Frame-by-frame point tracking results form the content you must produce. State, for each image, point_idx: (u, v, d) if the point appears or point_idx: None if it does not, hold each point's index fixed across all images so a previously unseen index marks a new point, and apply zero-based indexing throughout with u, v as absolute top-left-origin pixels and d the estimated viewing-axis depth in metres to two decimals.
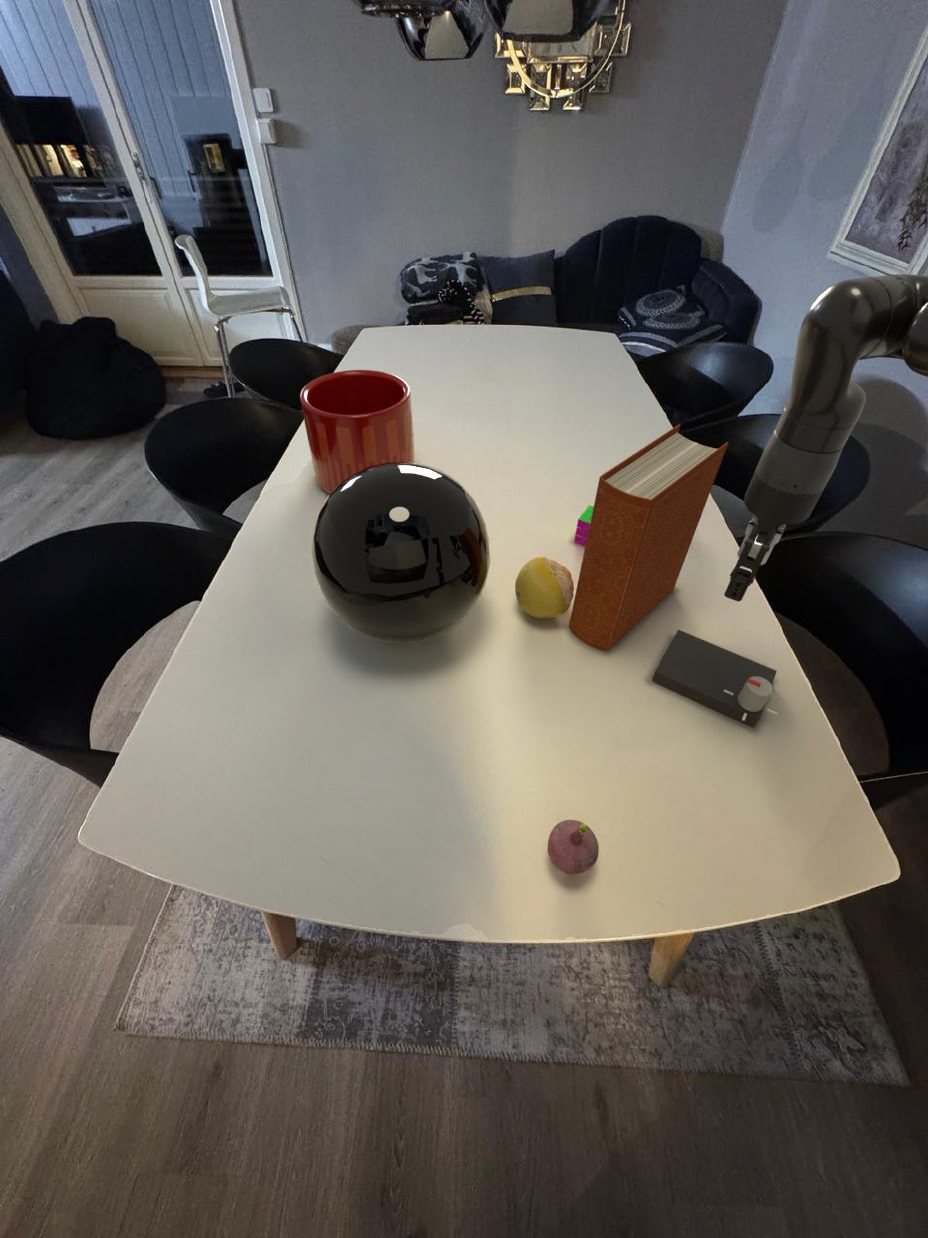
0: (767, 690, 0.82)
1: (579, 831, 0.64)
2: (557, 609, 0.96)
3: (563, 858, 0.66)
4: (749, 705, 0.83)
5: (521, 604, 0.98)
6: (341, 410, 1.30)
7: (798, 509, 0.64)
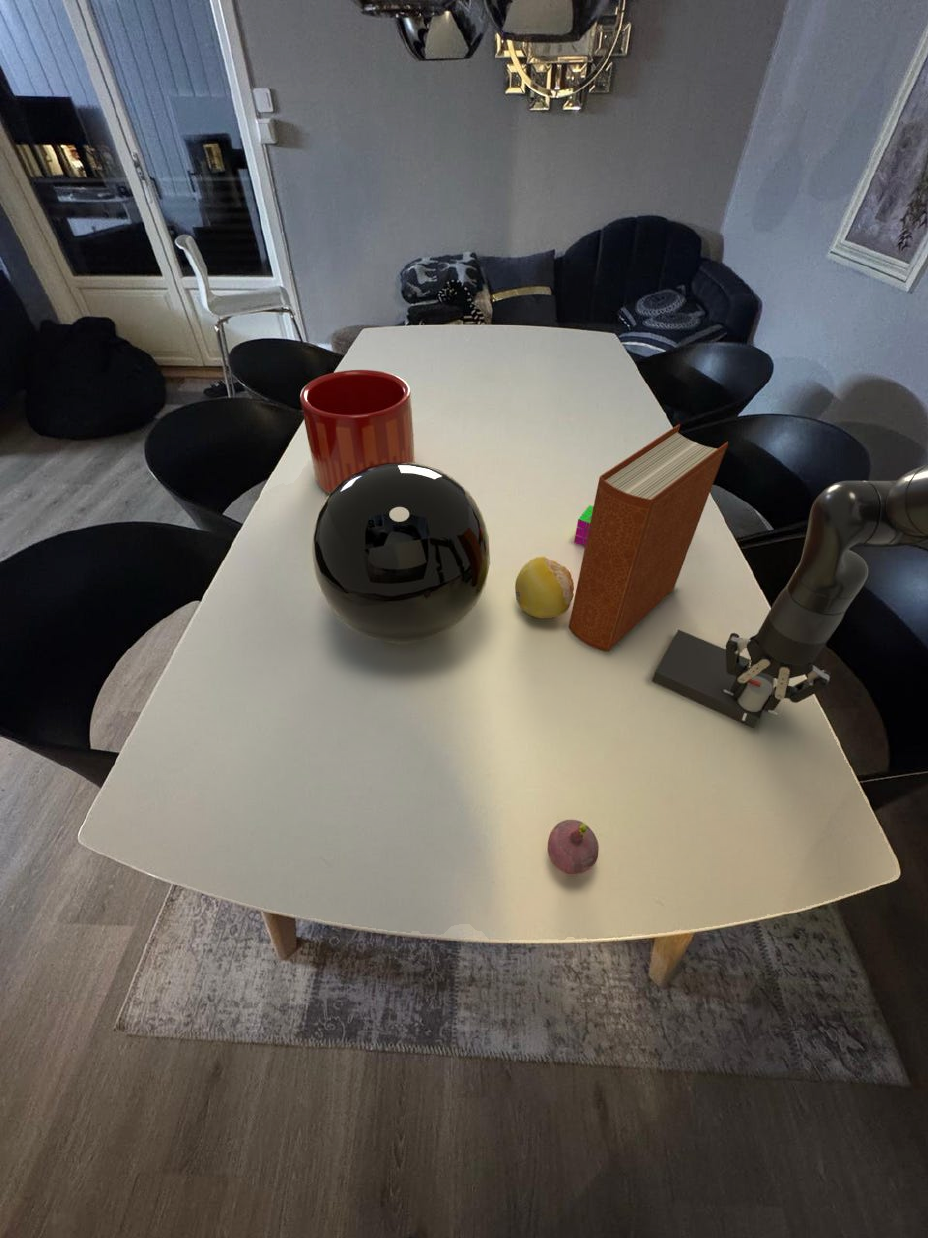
0: (767, 690, 0.82)
1: (579, 831, 0.64)
2: (557, 609, 0.96)
3: (563, 858, 0.66)
4: (749, 705, 0.83)
5: (521, 604, 0.98)
6: (341, 410, 1.30)
7: (765, 634, 0.74)
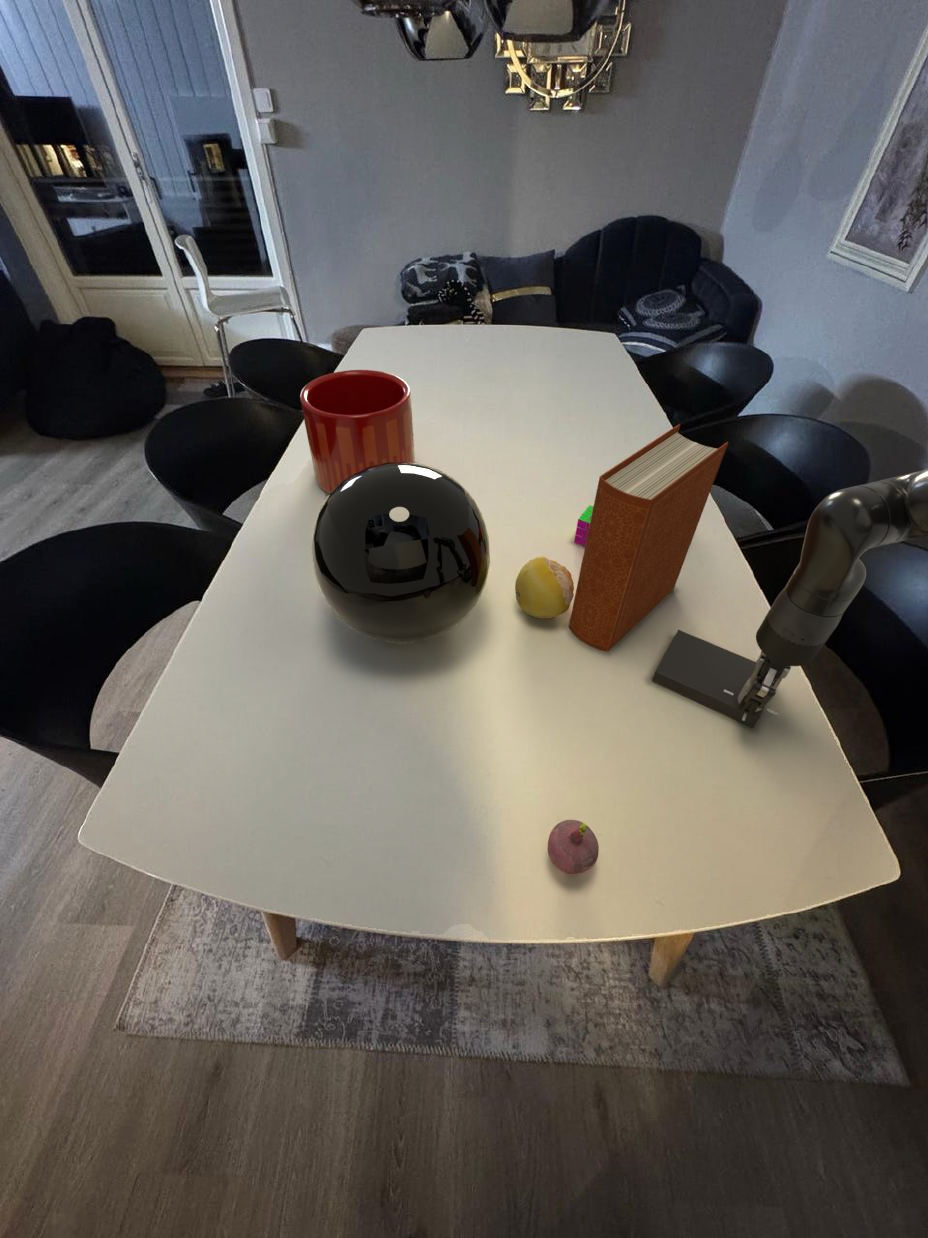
0: None
1: (579, 831, 0.64)
2: (557, 609, 0.96)
3: (563, 858, 0.66)
4: None
5: (521, 604, 0.98)
6: (341, 410, 1.30)
7: (805, 656, 0.72)
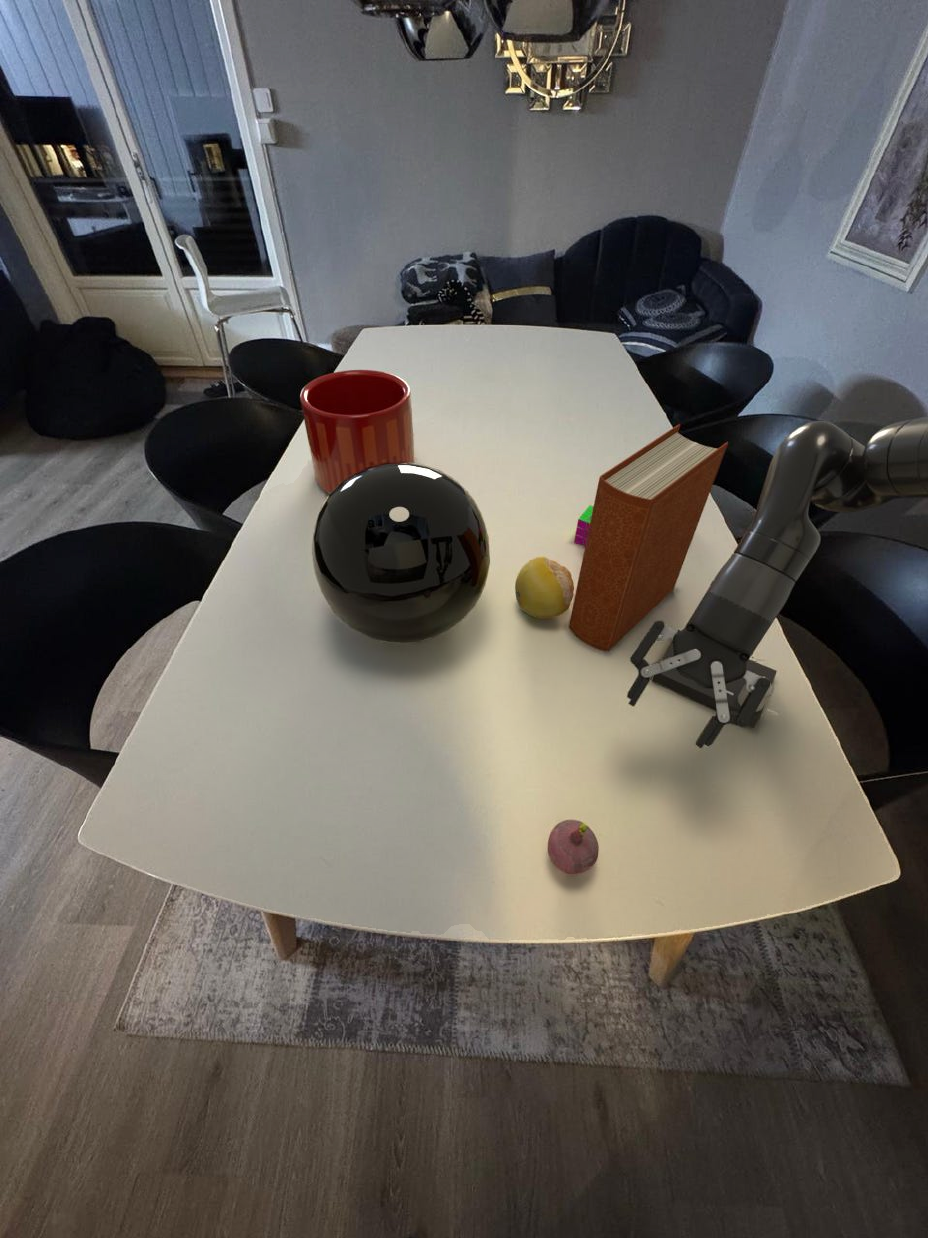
0: None
1: (579, 831, 0.64)
2: (557, 609, 0.96)
3: (563, 858, 0.66)
4: None
5: (521, 604, 0.98)
6: (341, 410, 1.30)
7: (704, 609, 0.62)
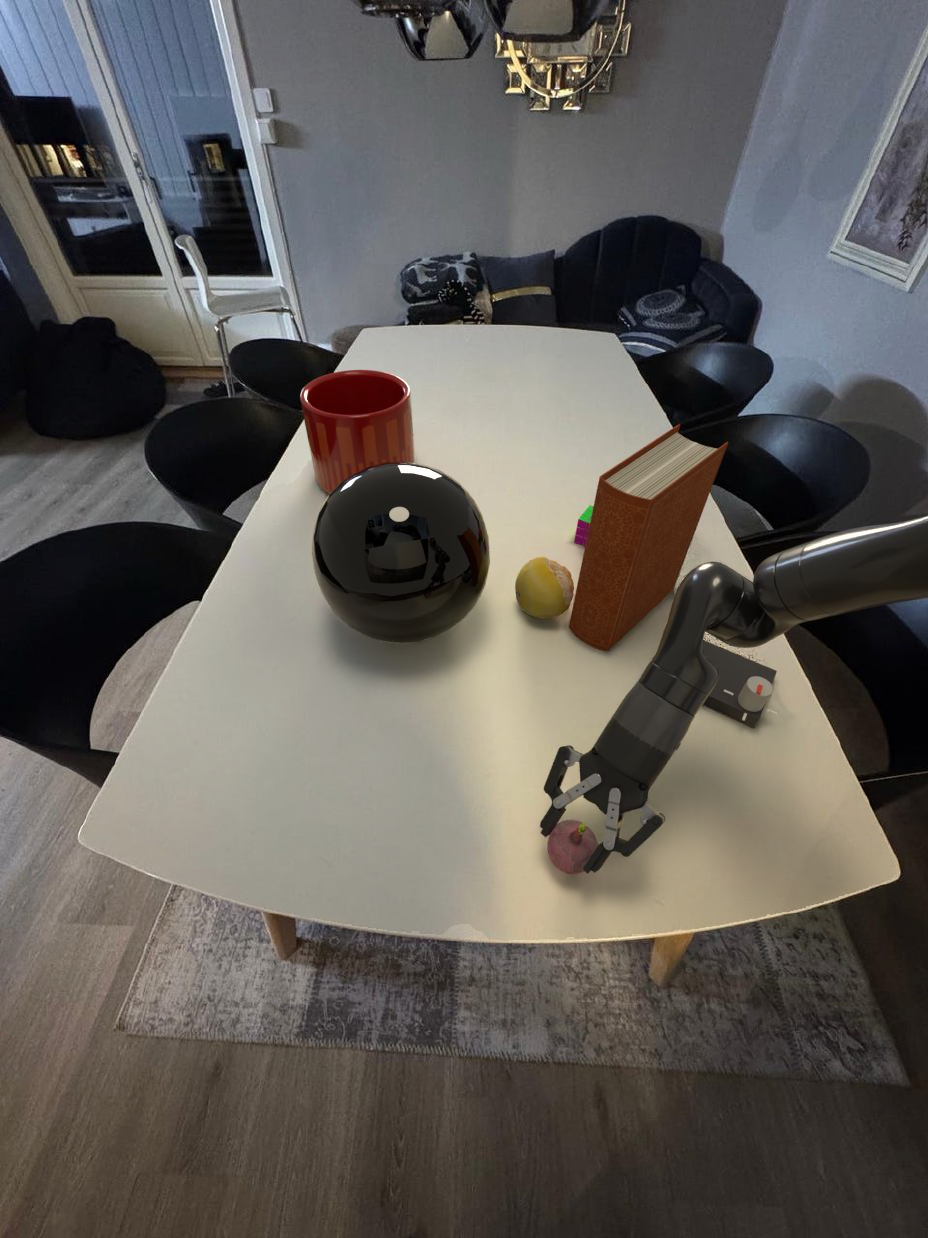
0: (763, 681, 0.83)
1: (578, 831, 0.64)
2: (557, 609, 0.96)
3: (562, 858, 0.66)
4: None
5: (521, 604, 0.98)
6: (341, 410, 1.30)
7: (605, 734, 0.63)
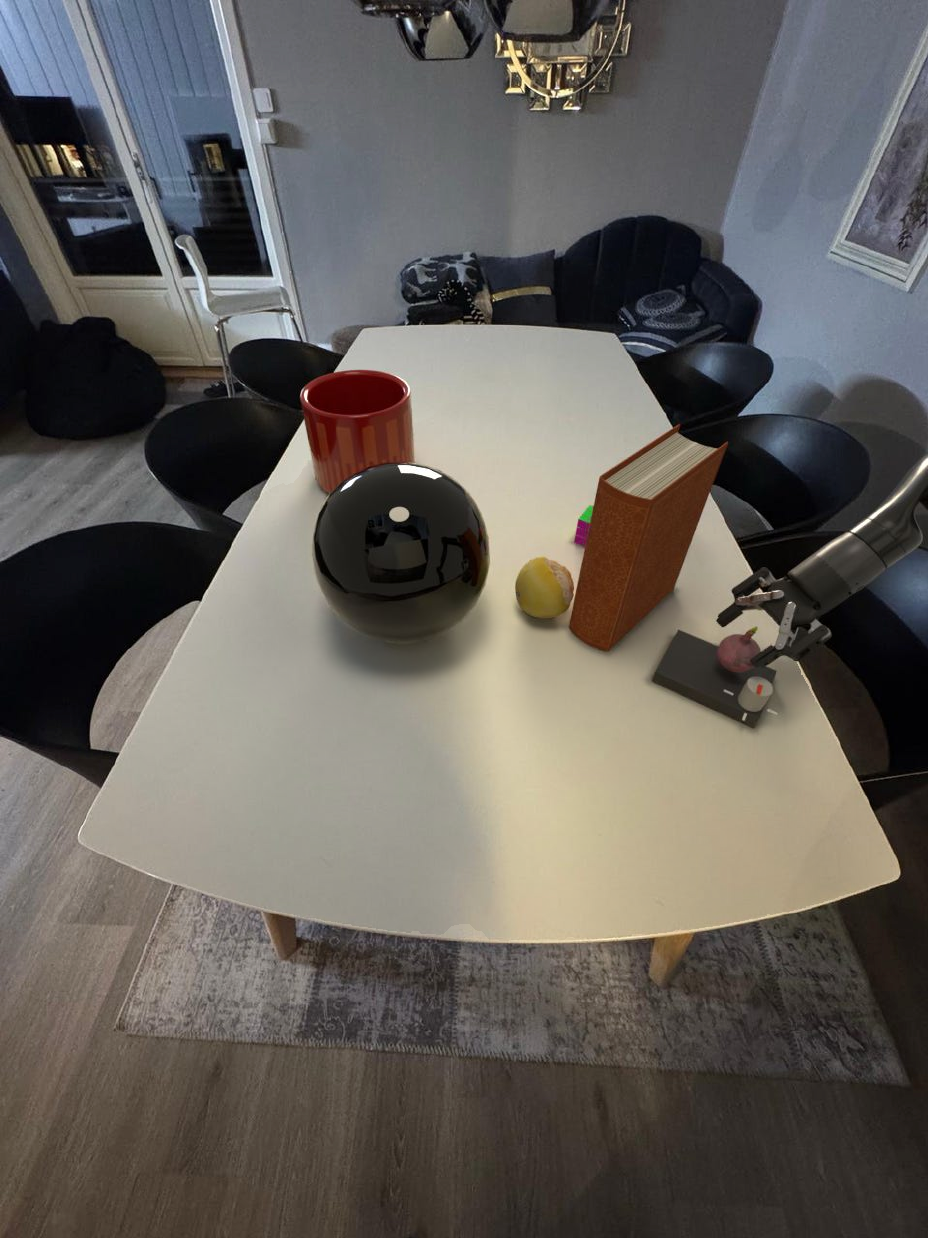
0: (763, 681, 0.83)
1: (750, 630, 0.83)
2: (557, 609, 0.96)
3: (728, 650, 0.85)
4: None
5: (521, 604, 0.98)
6: (341, 410, 1.30)
7: (800, 563, 0.81)
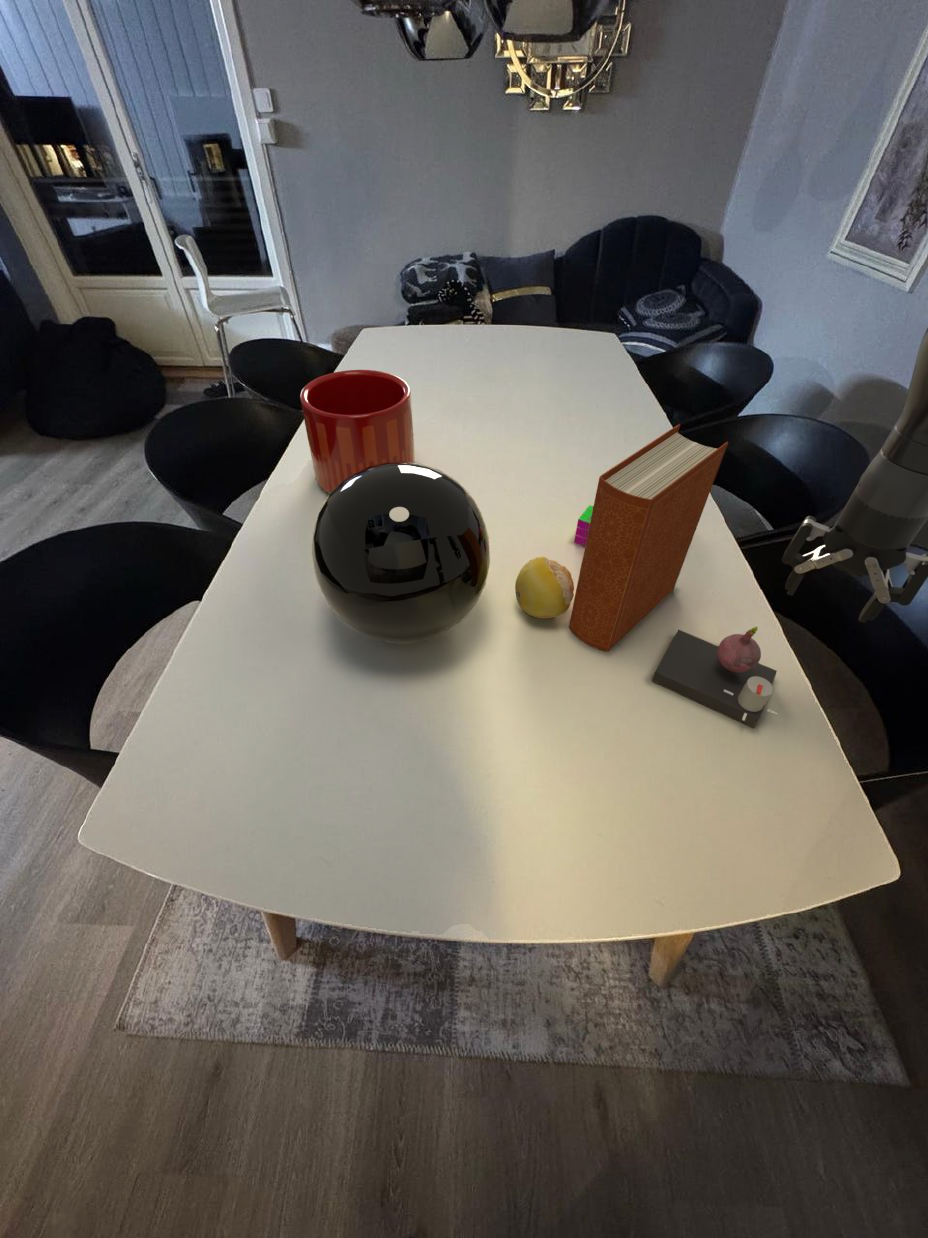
0: (763, 681, 0.83)
1: (750, 630, 0.83)
2: (557, 609, 0.96)
3: (728, 650, 0.85)
4: None
5: (521, 604, 0.98)
6: (341, 410, 1.30)
7: (851, 515, 0.63)
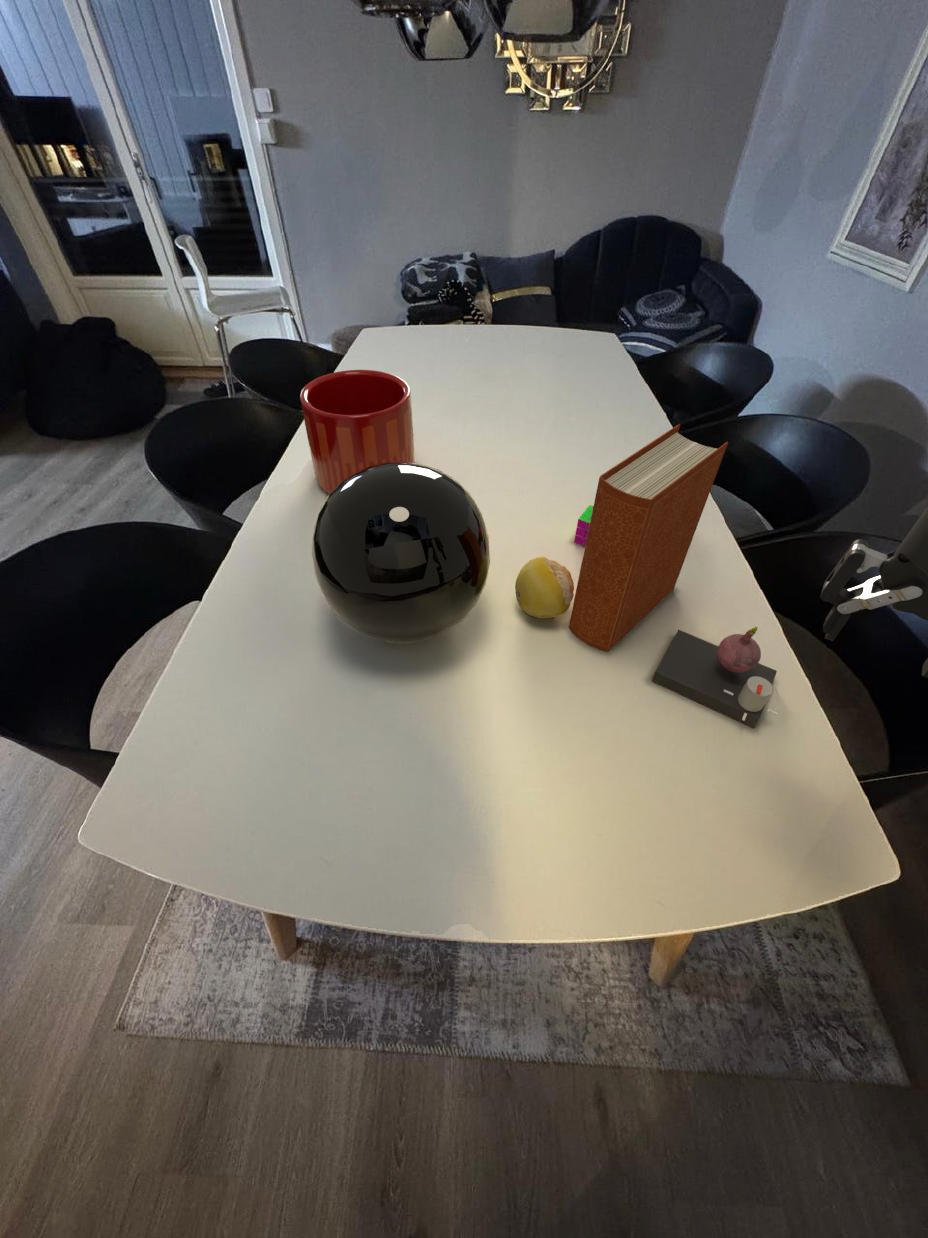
0: (763, 681, 0.83)
1: (750, 630, 0.83)
2: (557, 609, 0.96)
3: (728, 650, 0.85)
4: None
5: (521, 604, 0.98)
6: (341, 410, 1.30)
7: (923, 541, 0.46)
